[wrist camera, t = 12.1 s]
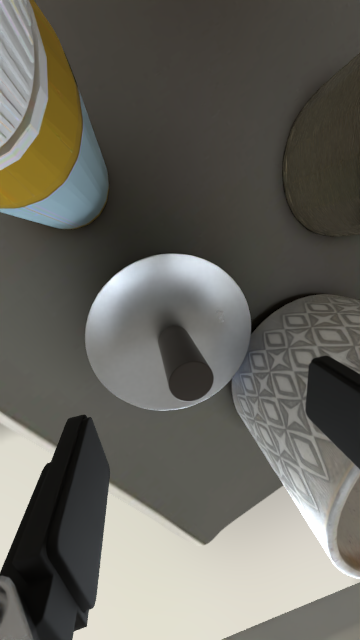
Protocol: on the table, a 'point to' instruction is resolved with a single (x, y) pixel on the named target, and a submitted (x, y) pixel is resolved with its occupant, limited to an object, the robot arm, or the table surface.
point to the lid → (168, 331)
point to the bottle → (44, 127)
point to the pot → (327, 157)
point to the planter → (305, 416)
